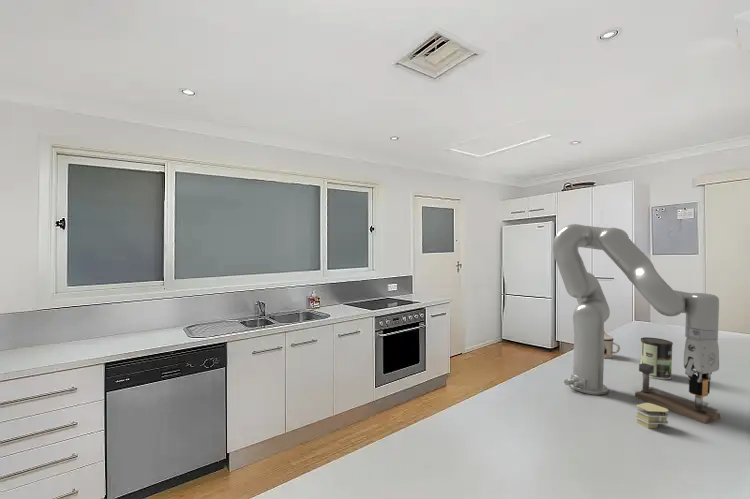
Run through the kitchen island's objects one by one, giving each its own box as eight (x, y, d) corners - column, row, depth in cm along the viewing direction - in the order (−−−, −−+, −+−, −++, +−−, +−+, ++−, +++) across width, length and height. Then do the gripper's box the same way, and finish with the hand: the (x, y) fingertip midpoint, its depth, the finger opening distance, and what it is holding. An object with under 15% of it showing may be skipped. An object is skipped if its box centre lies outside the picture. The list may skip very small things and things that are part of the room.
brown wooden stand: (705, 423, 109) (706, 387, 109) (633, 396, 128) (634, 365, 128) (720, 418, 112) (721, 383, 112) (648, 392, 131) (649, 362, 131)
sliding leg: (701, 412, 112) (702, 380, 112) (689, 408, 115) (690, 377, 114) (710, 409, 114) (712, 378, 114) (699, 405, 116) (700, 375, 116)
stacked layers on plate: (653, 436, 102) (654, 416, 102) (624, 420, 110) (624, 402, 110) (680, 431, 104) (681, 412, 104) (649, 417, 113) (650, 399, 113)
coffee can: (671, 374, 150) (672, 340, 150) (671, 381, 142) (673, 345, 141) (639, 368, 156) (641, 335, 156) (639, 375, 148) (640, 340, 148)
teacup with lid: (586, 354, 175) (587, 330, 175) (595, 351, 180) (596, 327, 180) (615, 361, 165) (615, 335, 165) (623, 358, 171) (624, 333, 170)
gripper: (700, 339, 107) (698, 402, 107) (731, 334, 113) (729, 394, 113) (671, 333, 114) (669, 392, 114) (702, 329, 120) (699, 385, 120)
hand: (699, 392), depth 114 cm, fingers closed on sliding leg, 3 cm apart
